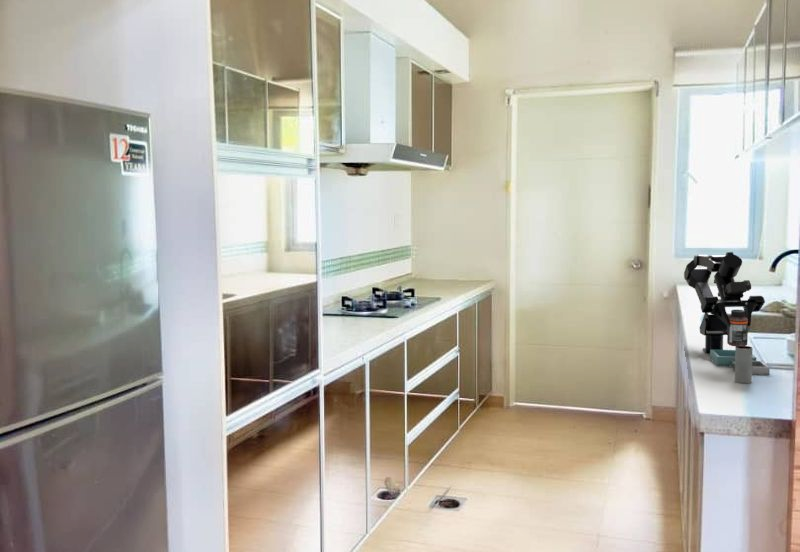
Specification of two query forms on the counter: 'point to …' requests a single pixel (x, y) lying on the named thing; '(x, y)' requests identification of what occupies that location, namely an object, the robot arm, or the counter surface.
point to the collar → (755, 367)
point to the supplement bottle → (737, 329)
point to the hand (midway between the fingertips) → (739, 325)
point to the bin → (724, 357)
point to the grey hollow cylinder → (743, 364)
